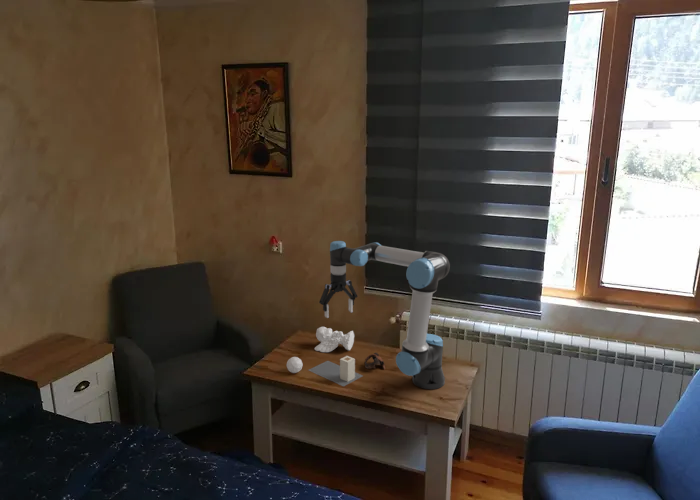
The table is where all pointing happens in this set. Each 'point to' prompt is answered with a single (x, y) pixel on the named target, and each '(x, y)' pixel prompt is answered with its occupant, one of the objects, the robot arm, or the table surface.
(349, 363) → the cream block
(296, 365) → the geometric ball
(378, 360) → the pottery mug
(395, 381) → the table surface
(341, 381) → the grey mat
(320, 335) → the cherub figurine
